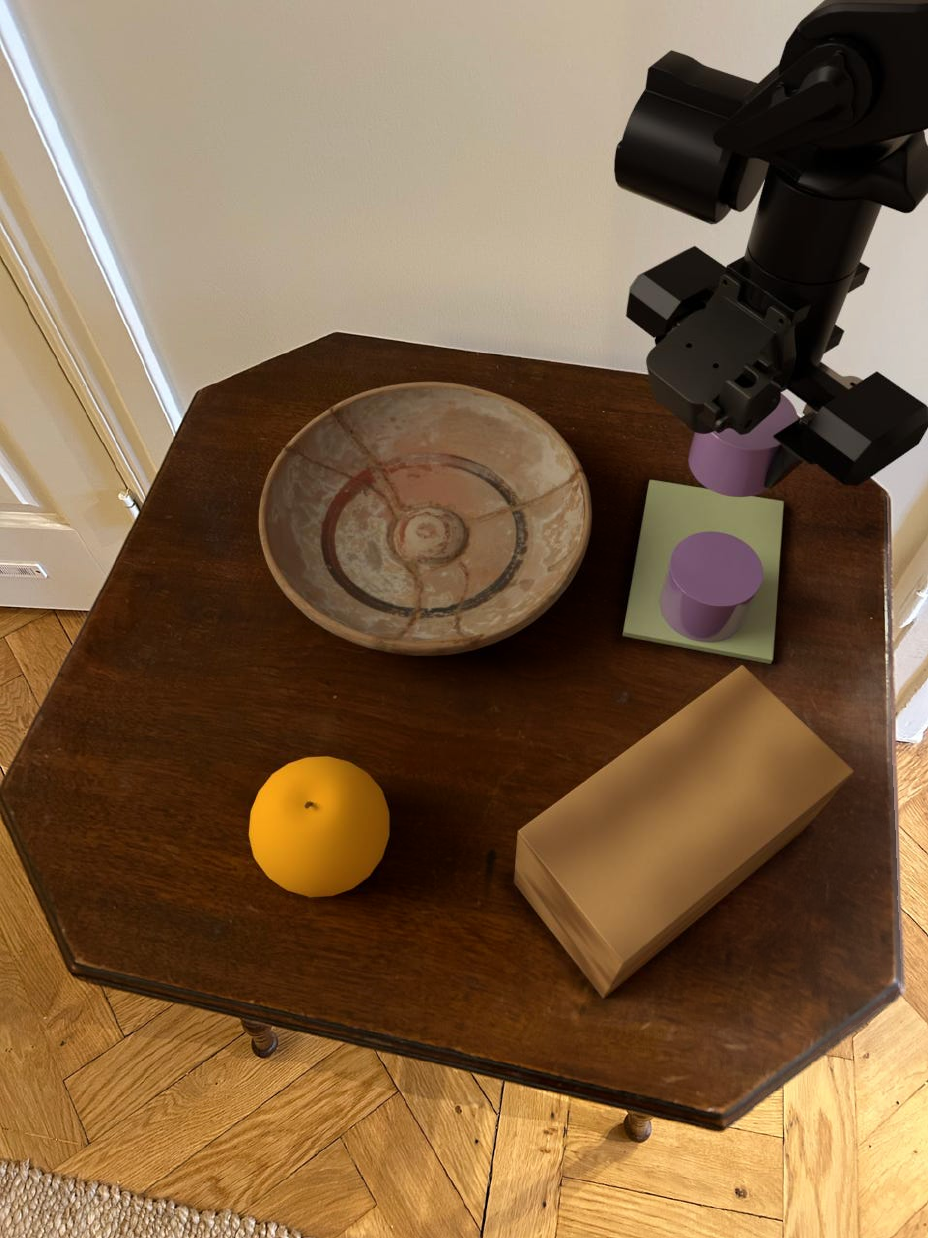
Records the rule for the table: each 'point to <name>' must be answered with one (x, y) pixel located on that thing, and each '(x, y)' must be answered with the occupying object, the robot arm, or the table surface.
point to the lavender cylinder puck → (739, 454)
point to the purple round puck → (710, 586)
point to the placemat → (692, 512)
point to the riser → (673, 826)
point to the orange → (319, 826)
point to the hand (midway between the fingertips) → (735, 456)
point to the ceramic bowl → (425, 518)
